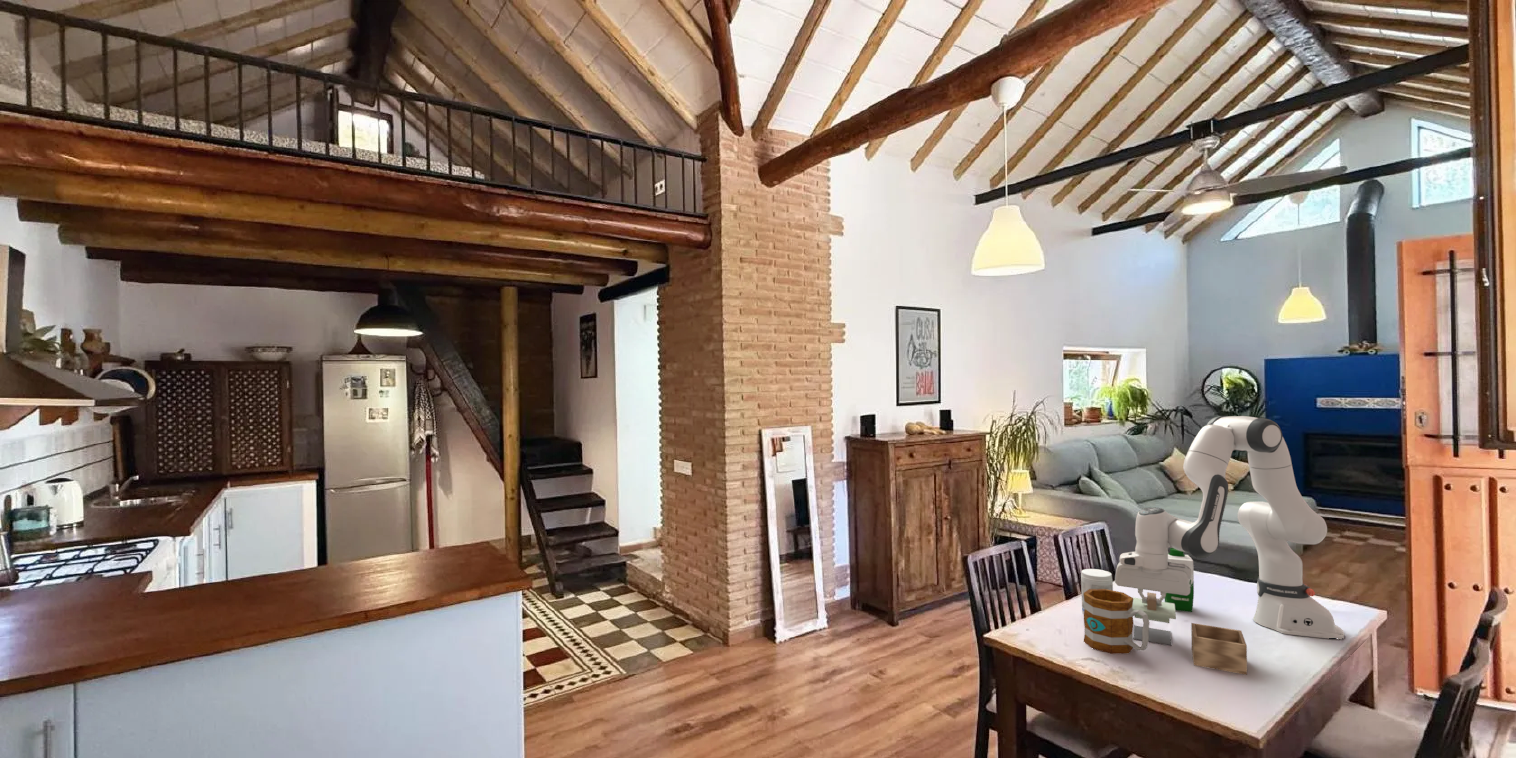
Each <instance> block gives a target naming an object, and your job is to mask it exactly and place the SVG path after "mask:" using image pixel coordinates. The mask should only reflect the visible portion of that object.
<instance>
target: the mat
mask: <svg viewBox="0 0 1516 758" xmlns="http://www.w3.org/2000/svg"><path fill="white" fill-rule="evenodd" d="M1142 630H1143V625H1142V626H1141V625H1135V624H1133V640H1135V641H1141V642H1142ZM1148 643H1151V644H1156V645H1157V644H1158V645H1164V646H1168V647H1172V646H1173V644H1172V633H1171V630H1165V629H1159V628H1154V627H1149V638H1148Z"/></svg>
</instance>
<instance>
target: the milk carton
mask: <svg viewBox="0 0 1516 758" xmlns="http://www.w3.org/2000/svg"><path fill="white" fill-rule="evenodd" d="M1168 562H1171V563H1177V564H1185V566H1188V567H1189V568H1190V569H1191V578H1190V579H1189V584H1190V594H1189V595H1187V596H1186V595H1179V594H1172V593H1166V596H1165V598H1164V599H1163V600H1164V602H1167V603H1173V604H1175V611H1178V612H1186V613H1188V612H1189V613H1193V609H1194V598H1195V597H1194V596H1195V595H1194V593H1195V591H1194V590H1195V588H1194V587H1195V584H1194V583H1195V579H1194V576H1195V575H1194V573H1195V572H1194V569H1195V568H1194V567H1195V566H1194V560H1193V559H1192V557H1190V554H1184V552H1183V551H1180V550H1177V549H1174V548H1171V547H1170V548H1169V552H1168ZM1168 567H1169V565H1168ZM1185 568H1187V567H1185Z"/></svg>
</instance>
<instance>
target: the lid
mask: <svg viewBox="0 0 1516 758" xmlns="http://www.w3.org/2000/svg"><path fill="white" fill-rule="evenodd" d="M1146 595H1147V596H1146V597H1147V604H1145V603H1142V598H1141V597H1134V596H1133V597H1132V596H1131V597H1132V598H1133V605H1132V611H1134V610H1142V611H1143V612H1145V613H1146V614H1147V616H1148V619H1149V621H1152V622H1153V621H1154V622H1160V623H1164V624H1165V623H1167V624H1170V620H1171V619H1172V620H1176V619H1177V615H1176V610H1175V604H1173V603H1167V602H1165V601H1162V606H1158V605H1156V598H1157V593H1156V592H1155V593H1154V592H1149V591H1148V592H1146ZM1134 618H1135V619H1141V620H1143V618H1142V616H1141V615H1140V614H1136V615H1135V616H1134Z"/></svg>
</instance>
